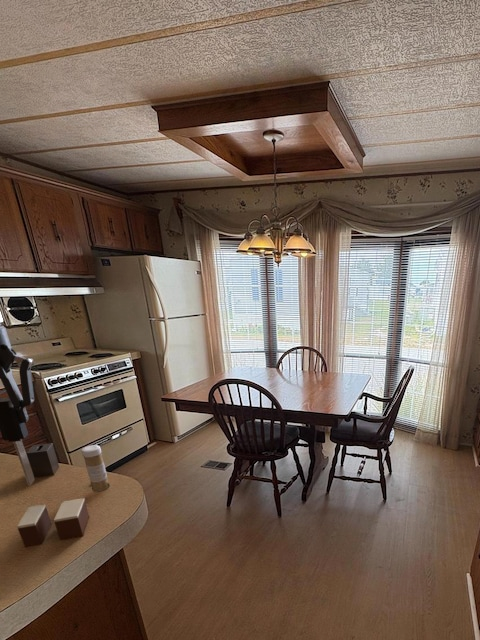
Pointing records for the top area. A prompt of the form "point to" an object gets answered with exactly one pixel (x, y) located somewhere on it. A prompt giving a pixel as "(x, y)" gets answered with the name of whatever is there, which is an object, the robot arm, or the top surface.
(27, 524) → the cake slice
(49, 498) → the top surface
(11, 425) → the knife
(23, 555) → the top surface
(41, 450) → the knife block
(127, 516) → the top surface
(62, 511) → the cake
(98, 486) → the sprinkles bottle
